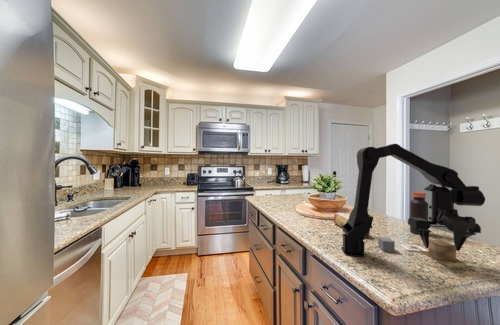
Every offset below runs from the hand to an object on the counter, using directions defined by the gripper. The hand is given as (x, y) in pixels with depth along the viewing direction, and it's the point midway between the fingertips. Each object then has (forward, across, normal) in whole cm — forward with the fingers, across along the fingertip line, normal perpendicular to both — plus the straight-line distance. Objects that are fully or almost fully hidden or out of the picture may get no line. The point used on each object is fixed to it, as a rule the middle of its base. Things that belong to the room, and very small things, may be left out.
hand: (442, 249), depth 71 cm
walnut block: (+3, 0, 0) cm, 3 cm away
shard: (+5, 0, 0) cm, 5 cm away
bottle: (+4, +10, +31) cm, 33 cm away
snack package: (+4, -22, +28) cm, 36 cm away
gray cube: (+4, -15, +6) cm, 17 cm away
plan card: (+4, -4, +9) cm, 11 cm away
